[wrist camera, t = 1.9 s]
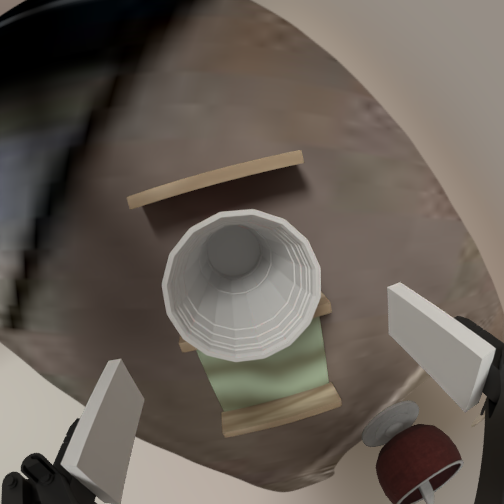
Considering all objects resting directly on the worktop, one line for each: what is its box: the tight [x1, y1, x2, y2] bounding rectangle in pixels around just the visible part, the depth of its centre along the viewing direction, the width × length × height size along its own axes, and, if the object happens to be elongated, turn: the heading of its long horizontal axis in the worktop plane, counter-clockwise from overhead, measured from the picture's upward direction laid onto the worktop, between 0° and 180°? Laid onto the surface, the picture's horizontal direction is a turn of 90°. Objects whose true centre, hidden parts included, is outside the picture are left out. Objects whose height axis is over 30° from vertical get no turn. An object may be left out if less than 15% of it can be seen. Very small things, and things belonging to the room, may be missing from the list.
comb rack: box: [127, 150, 342, 438], centre depth 30 cm, size 32×16×4 cm, turn 14°
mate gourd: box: [362, 401, 464, 504], centre depth 33 cm, size 16×14×20 cm
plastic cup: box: [162, 209, 321, 362], centre depth 24 cm, size 11×11×12 cm
